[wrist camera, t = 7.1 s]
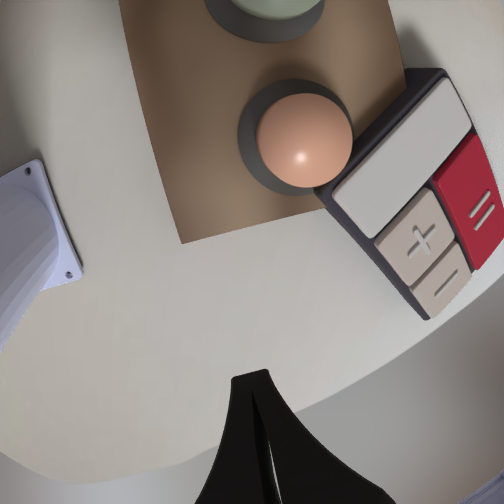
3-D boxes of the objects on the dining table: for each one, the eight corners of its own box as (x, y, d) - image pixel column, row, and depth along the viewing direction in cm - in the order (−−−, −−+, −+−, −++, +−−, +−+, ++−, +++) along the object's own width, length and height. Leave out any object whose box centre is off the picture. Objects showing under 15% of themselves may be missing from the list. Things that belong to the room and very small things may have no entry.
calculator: (431, 329, 21) (323, 199, 14) (403, 298, 25) (294, 177, 18) (515, 230, 19) (452, 64, 12) (481, 211, 22) (407, 65, 16)
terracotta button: (265, 190, 15) (270, 196, 14) (246, 103, 13) (251, 102, 12) (346, 172, 16) (357, 177, 14) (334, 89, 14) (344, 88, 12)
